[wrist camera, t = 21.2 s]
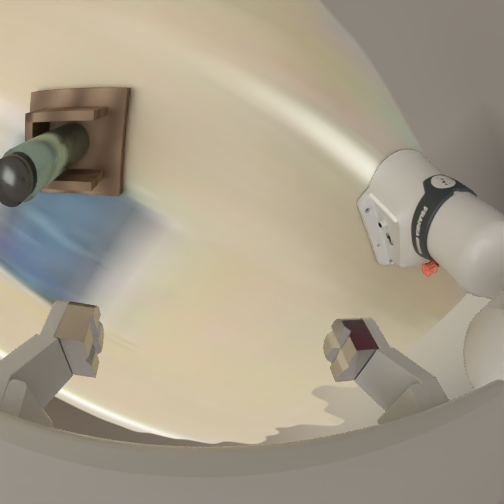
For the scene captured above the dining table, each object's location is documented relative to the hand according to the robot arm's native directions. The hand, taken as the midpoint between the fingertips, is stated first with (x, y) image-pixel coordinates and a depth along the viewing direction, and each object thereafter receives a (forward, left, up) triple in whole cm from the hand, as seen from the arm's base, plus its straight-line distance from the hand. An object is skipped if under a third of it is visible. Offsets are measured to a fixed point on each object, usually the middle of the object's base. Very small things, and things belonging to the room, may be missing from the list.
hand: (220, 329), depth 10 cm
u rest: (+8, +17, -33) cm, 38 cm away
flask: (+8, +17, -32) cm, 37 cm away
